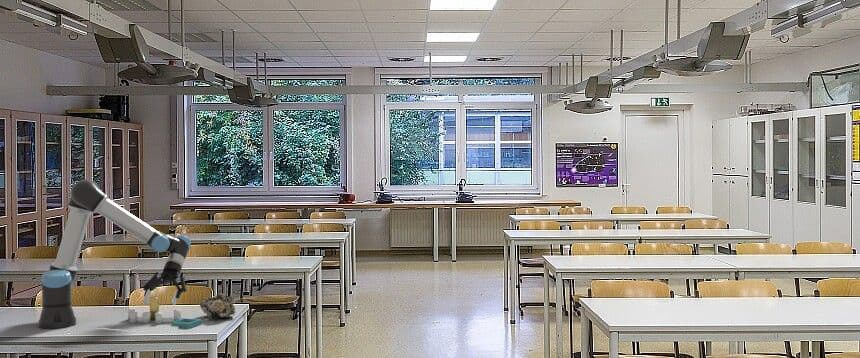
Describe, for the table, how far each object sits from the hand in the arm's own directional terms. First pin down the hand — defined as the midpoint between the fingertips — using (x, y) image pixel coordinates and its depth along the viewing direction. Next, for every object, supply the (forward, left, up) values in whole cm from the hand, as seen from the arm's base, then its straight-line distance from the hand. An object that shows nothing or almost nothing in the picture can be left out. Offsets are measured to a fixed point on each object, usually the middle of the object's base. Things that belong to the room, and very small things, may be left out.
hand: (158, 303), depth 373 cm
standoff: (-1, -2, -7) cm, 7 cm away
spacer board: (0, -4, -8) cm, 9 cm away
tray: (+19, -5, -8) cm, 21 cm away
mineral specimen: (+21, +14, -8) cm, 26 cm away
